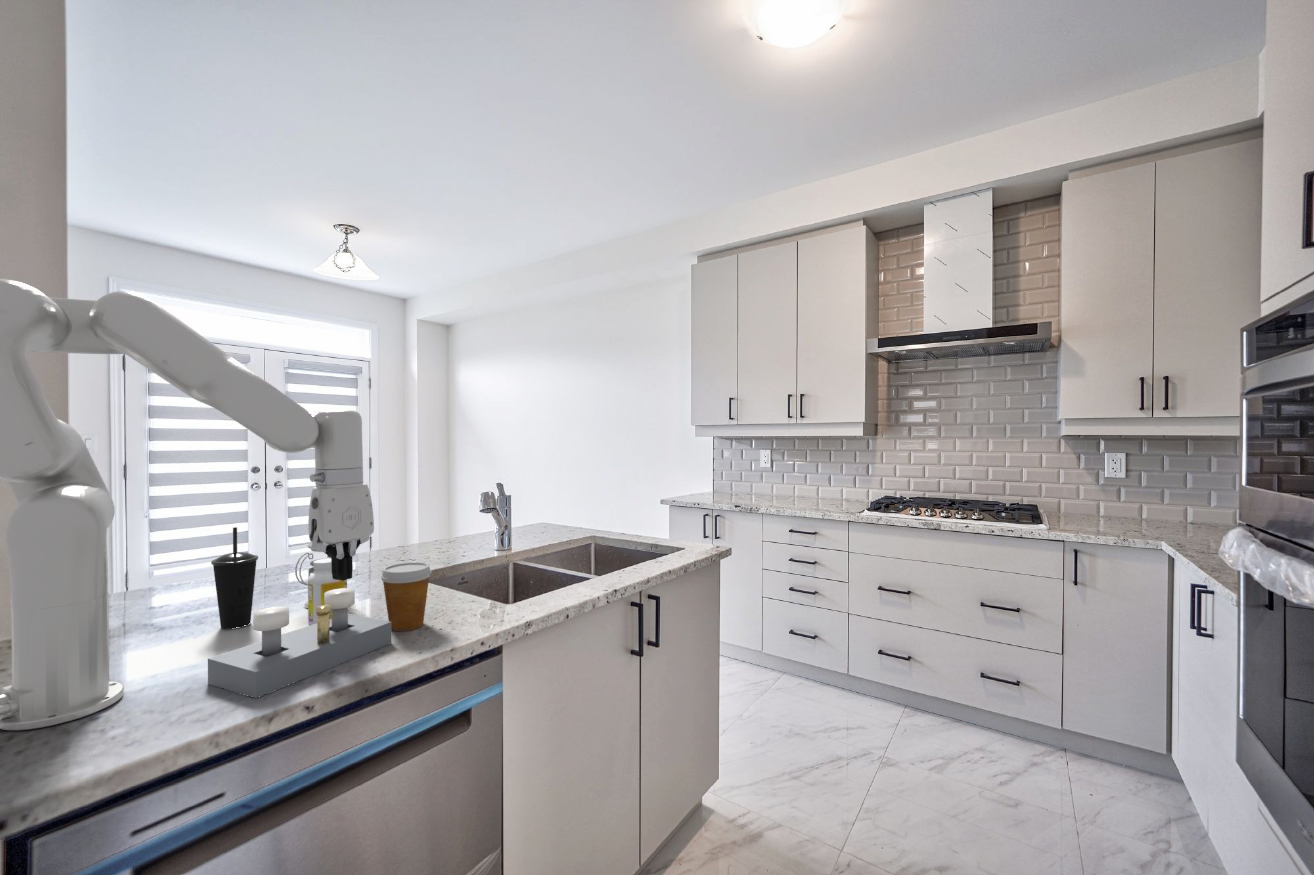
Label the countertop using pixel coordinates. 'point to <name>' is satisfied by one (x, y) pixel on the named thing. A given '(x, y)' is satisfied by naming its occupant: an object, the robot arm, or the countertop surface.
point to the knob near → (271, 627)
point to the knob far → (339, 606)
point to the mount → (295, 656)
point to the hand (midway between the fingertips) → (342, 578)
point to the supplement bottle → (320, 587)
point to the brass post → (323, 624)
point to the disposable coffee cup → (406, 594)
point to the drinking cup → (235, 586)
